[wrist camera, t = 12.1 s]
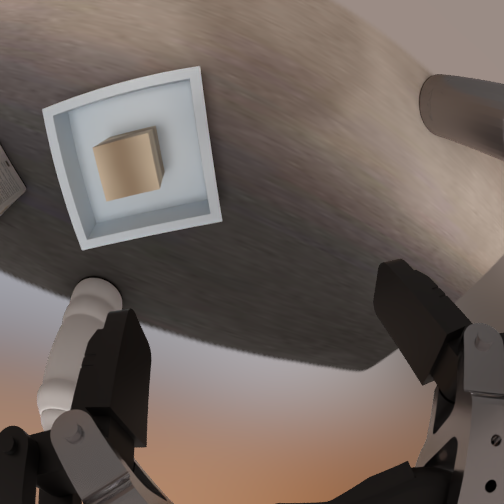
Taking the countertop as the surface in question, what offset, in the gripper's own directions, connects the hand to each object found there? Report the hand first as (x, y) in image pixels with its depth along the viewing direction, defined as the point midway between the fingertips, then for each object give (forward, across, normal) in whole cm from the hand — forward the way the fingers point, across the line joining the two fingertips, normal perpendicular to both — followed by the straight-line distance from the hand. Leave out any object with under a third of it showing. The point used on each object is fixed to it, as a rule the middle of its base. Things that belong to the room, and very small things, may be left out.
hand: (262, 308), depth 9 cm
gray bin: (+25, +8, -2) cm, 26 cm away
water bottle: (+25, +19, +16) cm, 35 cm away
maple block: (+24, +8, -2) cm, 25 cm away
